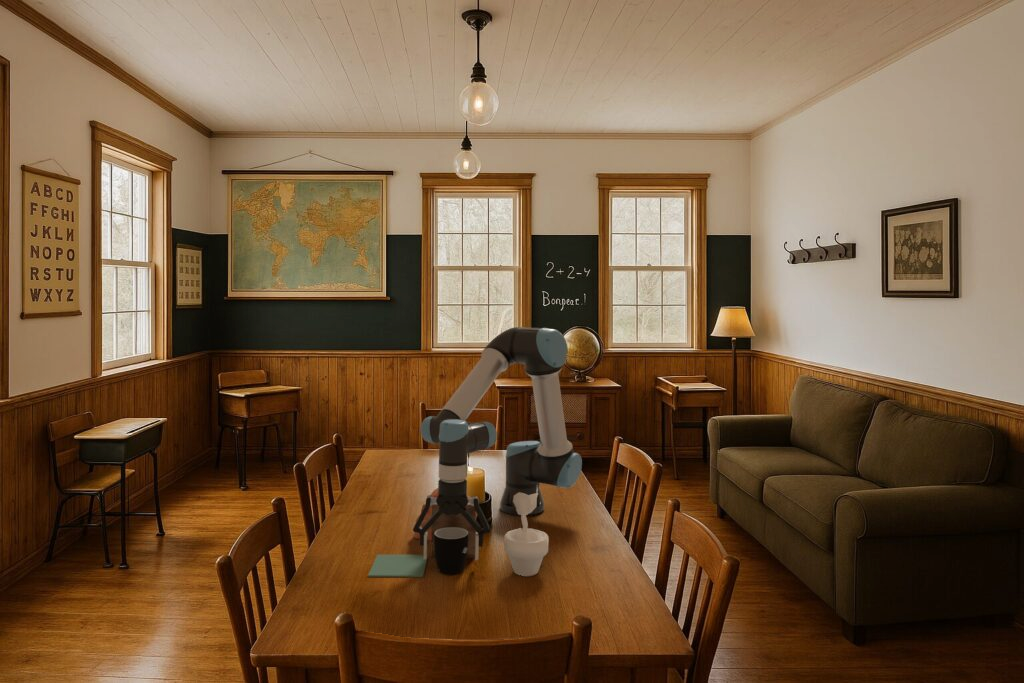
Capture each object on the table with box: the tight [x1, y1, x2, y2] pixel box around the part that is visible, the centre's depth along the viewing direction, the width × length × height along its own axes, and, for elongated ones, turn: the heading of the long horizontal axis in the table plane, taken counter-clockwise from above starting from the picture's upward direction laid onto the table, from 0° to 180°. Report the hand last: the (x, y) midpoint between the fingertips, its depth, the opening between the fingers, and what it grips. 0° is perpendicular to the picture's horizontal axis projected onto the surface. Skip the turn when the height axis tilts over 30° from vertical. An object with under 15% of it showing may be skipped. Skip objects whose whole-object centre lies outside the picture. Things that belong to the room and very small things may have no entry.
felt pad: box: [367, 554, 429, 578], centre depth 178 cm, size 14×14×1 cm
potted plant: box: [503, 487, 550, 577], centre depth 175 cm, size 13×12×25 cm
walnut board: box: [430, 502, 477, 559], centre depth 187 cm, size 12×5×15 cm, turn 92°
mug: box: [434, 527, 468, 576], centre depth 177 cm, size 12×9×10 cm
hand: (451, 558), depth 177 cm, fingers open, 13 cm apart
